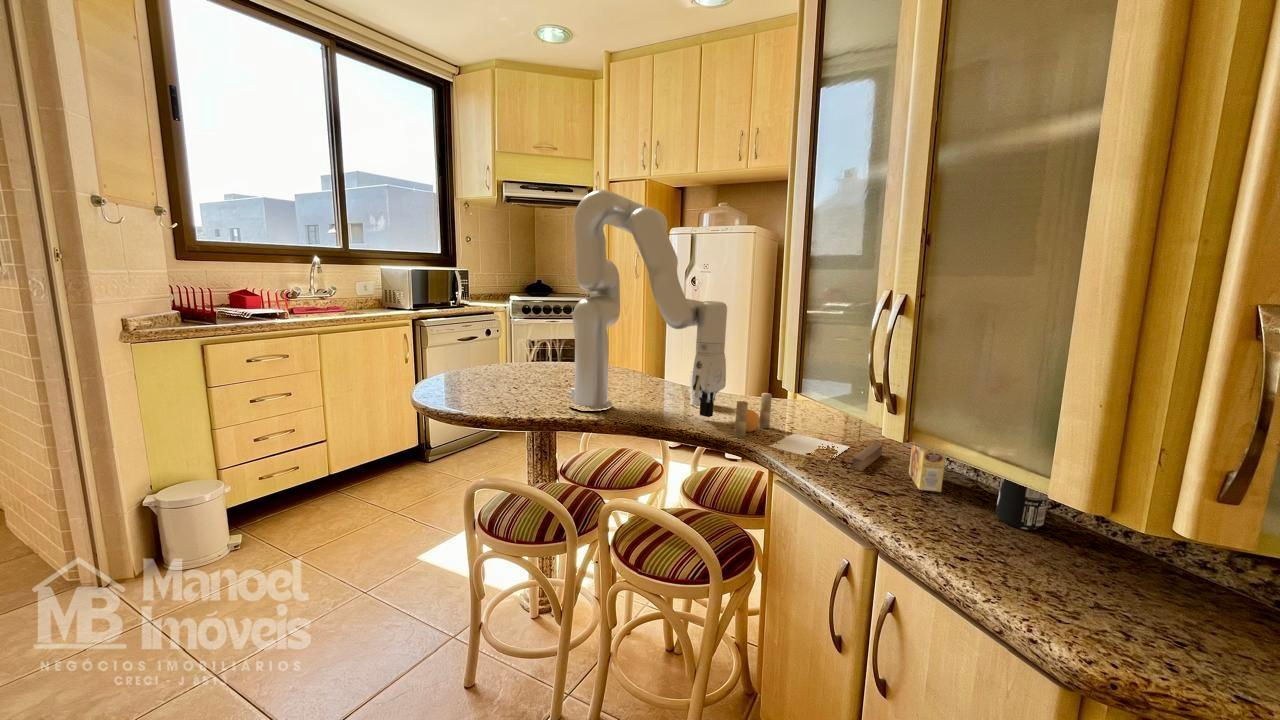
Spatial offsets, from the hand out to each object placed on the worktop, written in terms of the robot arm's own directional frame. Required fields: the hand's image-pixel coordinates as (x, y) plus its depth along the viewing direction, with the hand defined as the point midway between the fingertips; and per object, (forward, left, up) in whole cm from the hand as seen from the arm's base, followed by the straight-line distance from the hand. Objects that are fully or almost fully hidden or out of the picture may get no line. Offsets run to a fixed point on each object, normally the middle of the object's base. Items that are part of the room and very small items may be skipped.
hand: (706, 415), depth 140 cm
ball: (+12, 0, +1) cm, 13 cm away
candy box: (+54, -4, -2) cm, 54 cm away
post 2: (+14, +6, -2) cm, 15 cm away
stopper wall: (+42, 0, -2) cm, 42 cm away
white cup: (-10, +13, -2) cm, 16 cm away
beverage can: (+70, -11, -2) cm, 71 cm away
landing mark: (+29, 0, -2) cm, 29 cm away
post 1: (+14, -6, -2) cm, 15 cm away
